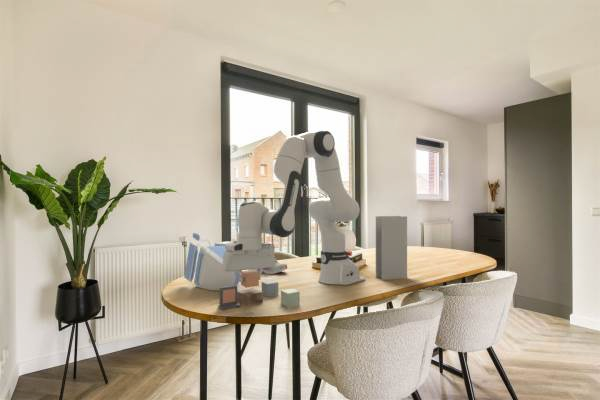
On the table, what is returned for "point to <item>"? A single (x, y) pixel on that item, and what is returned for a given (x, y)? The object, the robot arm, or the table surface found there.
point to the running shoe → (273, 268)
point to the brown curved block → (249, 296)
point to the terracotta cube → (250, 278)
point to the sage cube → (290, 297)
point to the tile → (228, 297)
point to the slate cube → (270, 288)
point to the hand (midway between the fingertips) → (249, 280)
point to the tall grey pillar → (391, 247)
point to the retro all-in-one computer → (208, 267)
